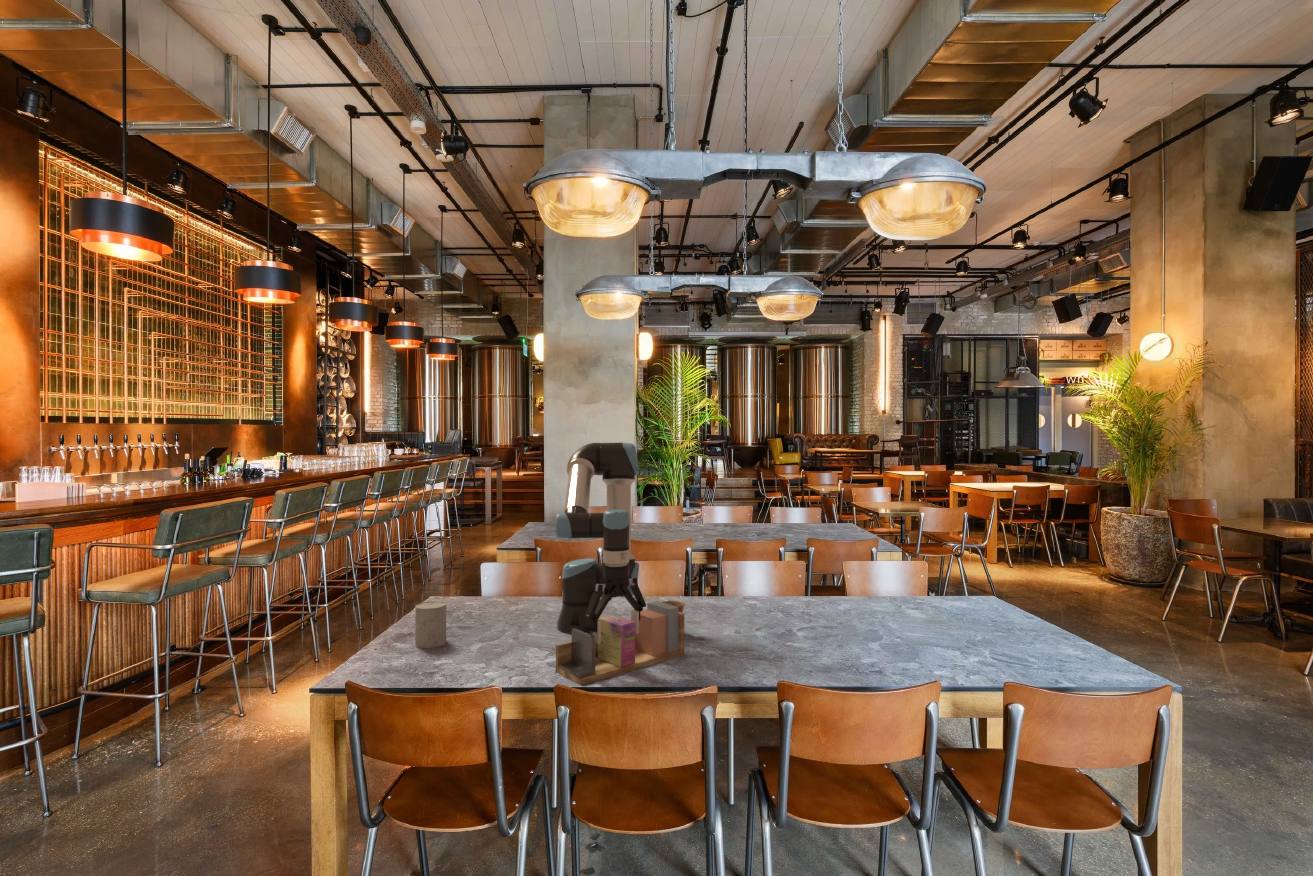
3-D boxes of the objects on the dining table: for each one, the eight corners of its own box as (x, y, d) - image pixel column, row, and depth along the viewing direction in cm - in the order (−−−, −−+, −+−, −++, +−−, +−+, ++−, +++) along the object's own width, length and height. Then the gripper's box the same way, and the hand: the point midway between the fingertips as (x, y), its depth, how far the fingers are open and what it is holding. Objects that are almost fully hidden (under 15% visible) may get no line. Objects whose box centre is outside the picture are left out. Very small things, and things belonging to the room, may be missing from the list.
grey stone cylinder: (453, 641, 203) (453, 603, 203) (430, 649, 194) (431, 610, 194) (430, 637, 207) (431, 600, 207) (408, 645, 198) (408, 606, 198)
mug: (661, 630, 215) (661, 600, 215) (686, 631, 213) (686, 601, 213) (654, 640, 203) (654, 609, 203) (680, 642, 201) (680, 610, 201)
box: (636, 663, 178) (636, 621, 178) (621, 668, 174) (621, 625, 174) (612, 654, 185) (612, 614, 185) (597, 659, 181) (597, 618, 181)
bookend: (559, 668, 173) (559, 631, 173) (575, 663, 177) (575, 628, 177) (579, 678, 166) (579, 640, 166) (595, 673, 169) (595, 636, 169)
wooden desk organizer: (555, 671, 175) (555, 626, 175) (656, 644, 199) (656, 605, 199) (581, 685, 165) (581, 637, 165) (684, 655, 189) (684, 613, 189)
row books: (633, 648, 190) (633, 605, 190) (657, 642, 196) (657, 600, 196) (654, 657, 182) (654, 612, 183) (678, 650, 189) (678, 607, 189)
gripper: (587, 572, 169) (587, 650, 169) (657, 560, 185) (657, 631, 185) (572, 567, 174) (572, 643, 175) (641, 556, 190) (641, 625, 191)
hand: (616, 637), depth 180 cm, fingers open, 13 cm apart
